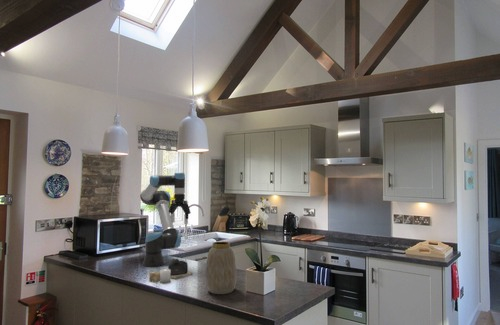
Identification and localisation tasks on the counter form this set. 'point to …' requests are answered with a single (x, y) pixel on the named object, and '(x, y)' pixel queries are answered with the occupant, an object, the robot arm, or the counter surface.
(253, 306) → the counter surface
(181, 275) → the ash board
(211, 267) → the vase
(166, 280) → the white short cylinder
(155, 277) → the beech block
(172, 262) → the camera
